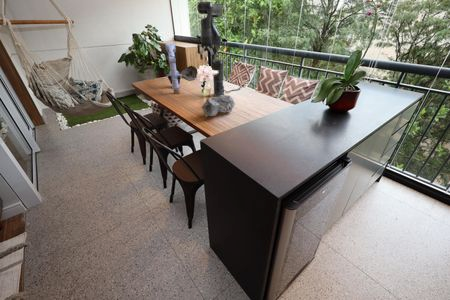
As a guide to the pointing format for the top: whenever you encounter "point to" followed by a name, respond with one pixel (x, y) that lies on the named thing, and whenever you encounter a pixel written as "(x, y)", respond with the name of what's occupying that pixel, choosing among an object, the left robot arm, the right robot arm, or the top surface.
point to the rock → (218, 105)
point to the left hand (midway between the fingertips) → (175, 84)
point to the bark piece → (189, 73)
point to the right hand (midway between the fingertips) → (207, 59)
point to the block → (176, 91)
